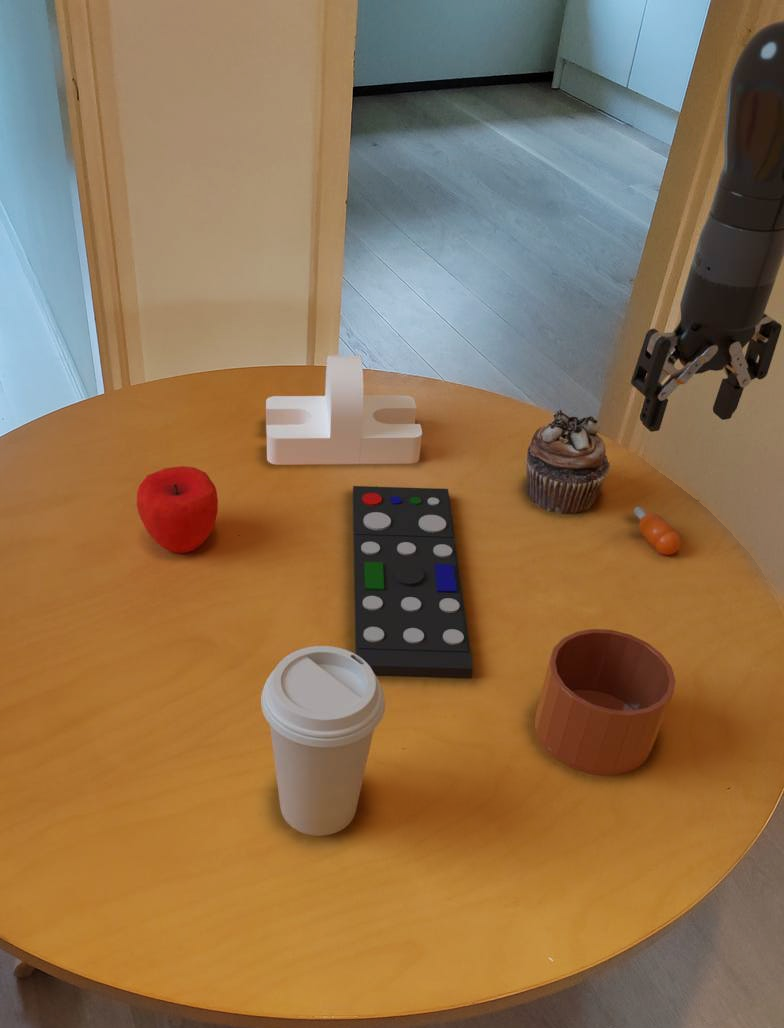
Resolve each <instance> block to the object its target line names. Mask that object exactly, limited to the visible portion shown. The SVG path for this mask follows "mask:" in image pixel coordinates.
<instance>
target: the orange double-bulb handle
mask: <svg viewBox="0 0 784 1028" xmlns="http://www.w3.org/2000/svg"><path fill="white" fill-rule="evenodd" d="M633 514H634V515H635V516H636V517H637V519H639V523H638V529H639V532H640V533H641V536H643V537H644V538H645V539H646V540H647V541H648V543H650V545H651V546H652V547H653V548H654V549H655V550H656V552H658V553H659V554H661V555H666V556H670V555H673V554H675V553H676V552H678V550H680V547H681V543H682V541H681V536H680V535H679V534H678V532H677V531H676V530H675V529H674V528H673V527H672V526H671V525H670V524H669V523H668V522H667V521H666V520H665V519H664V518H663V517H662V516H661V515H660V514H657V513H654V512H651V513H648V512H646V511H645V510H644V508H642V507H640V506H636V507H635V508H634V510H633Z"/></svg>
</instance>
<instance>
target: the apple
mask: <svg viewBox="0 0 784 1028" xmlns="http://www.w3.org/2000/svg"><path fill="white" fill-rule="evenodd" d="M136 508H137V511H138V515H139V518H140V520H141V522H142V524H143V526H144V528H145V530H146V531H147V534H148V535H149V536H150V537H151V538H152V540H153V541H154V542H155V543H157V544H158V545H159V546H160V547H162V548H163V549H165V550H167V551H169V552H172V553H176V554H185V553H189V552H194V551H195V550H196V549H198V548H199V547H201V546H202V545H203V543H204V542H205V541H206V540H207V538H208V537H209V536H210V535H211V532H212V531H213V529H214V527H215V525H216V520H217V516H218V511H219V499H218V491H217V488H216V486H215V484H214V482H213V481H212V479H211V478H210V476H209V475H208V474H207V472H205V471H203V470H201V469H199V468H197V467H194V466H185V465H184V466H183V465H179V466H172V467H171V466H170V467H164V468H162V469H160V470H157V471H154V472H152V473H150V474H147V476H145V478H144V479H143V480H142V482H141V483H140V484H139V485H138V489H137V492H136Z"/></svg>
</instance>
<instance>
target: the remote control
mask: <svg viewBox="0 0 784 1028" xmlns="http://www.w3.org/2000/svg"><path fill="white" fill-rule="evenodd" d="M454 530H455V529H454V522H453V516H452V508H451V500H450V493H449V488H437V487H436V488H433V487H432V488H431V487H399V486H369V485H368V486H365V485H353V486H352V537H353V539H352V540H353V543H352V545H353V593H354V600H353V601H354V602H353V603H354V647H355V648H354V650H355V652H354V654H356V655H358V656H359V657H361V658H362V659H363V660H364V661H365V662H366V663H367V664H368V665H369V666H370V667H371V669H372V671H373V673H374V674H375V675H376V677H399V678H400V677H402V678H403V677H405V678H438V679H467V680H468V679H470V680H471V679H472V676H473V670H474V666H473V659H472V653H471V645H470V638H469V631H468V623H467V617H466V616H467V615H466V610H465V609H466V608H465V601H464V594H463V588H462V587H463V586H462V579H461V573H460V566H459V565H460V564H459V559H458V558H459V557H458V551H457V544H456V538H455V537H456V536H455V531H454Z"/></svg>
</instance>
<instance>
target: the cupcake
mask: <svg viewBox="0 0 784 1028" xmlns="http://www.w3.org/2000/svg"><path fill="white" fill-rule="evenodd" d="M600 430H601V424H600V422H598V419H595V418H594V417H593V416H592V415H589V416H588V417H587V416H586V417H583V418H580V419H579V417H577V416H569V415H567V414H565V413H564V412H563V410H561V409H559V410H557V411H555V414H553V417H552V420H551V422H550V423H548V424H545V425H542V426H541V427H539V428H538V429H536V430H535V432H534V433H533V436H532V438H531V442H530V444H529V446H528V448H527V452H526V461H525V463H526V493H527V495H528V497H529V499H530V501H531V502H532V503H534V504H535V505H536V506H538V507H540V508H541V509H543V510H546V511H547V512H550V513H551V512H552V513H556V514H560V515H561V514H562V515H574V514H579V513H583V512H585V511H587V510H588V509H589V508H591V507H592V506H593V505H594V503H595V500H596V498H597V496H598V494H599V492H600V490H601V488H602V486H603V484H604V482H605V481H606V478H607V477H608V475H609V473H610V470H611V464H610V462H609V459H608V457H607V455H606V454H607V453H606V452H607V451H606V444H605V441H604V440H603V438H602V437H601V436H599V434H598V432H599V431H600Z"/></svg>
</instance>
